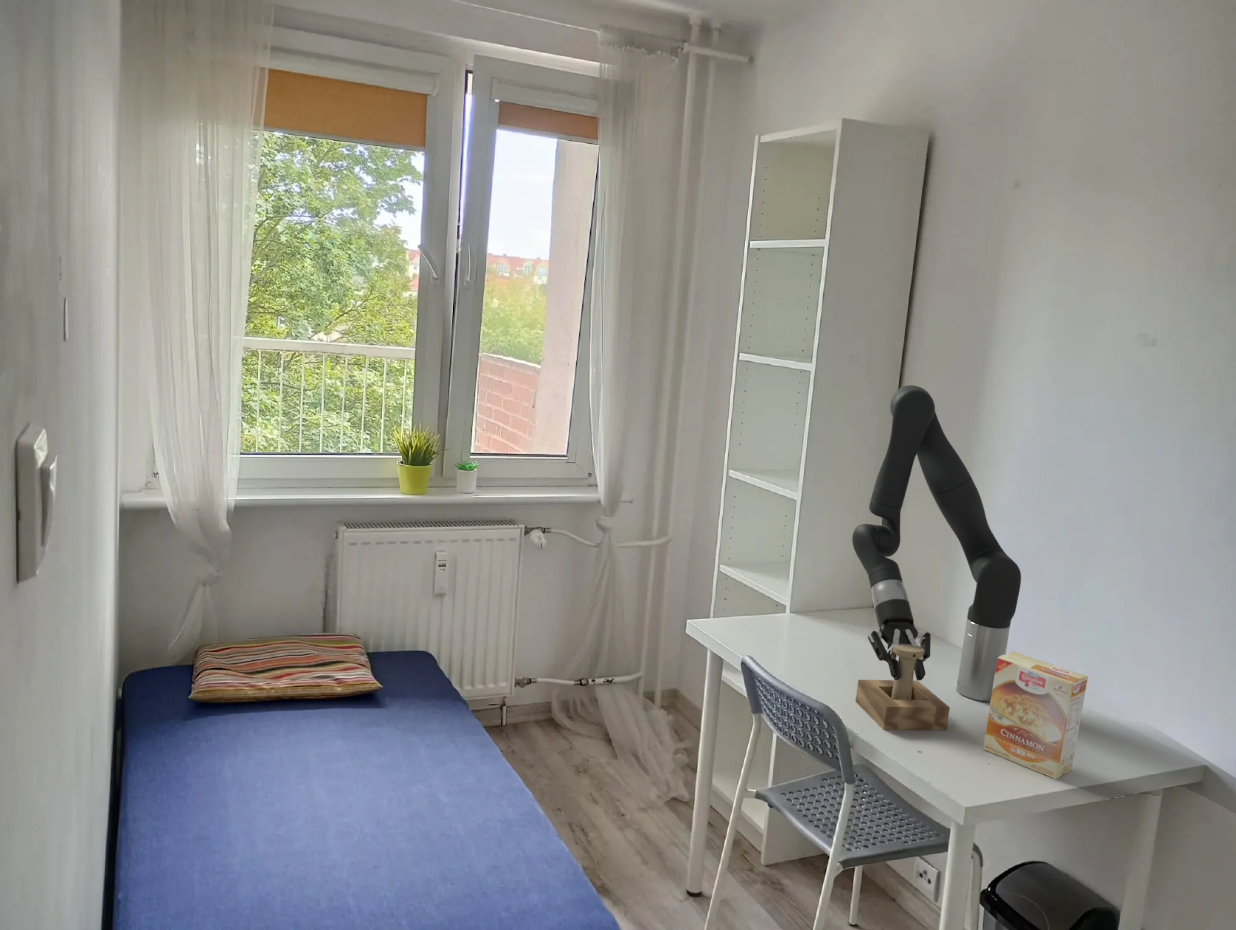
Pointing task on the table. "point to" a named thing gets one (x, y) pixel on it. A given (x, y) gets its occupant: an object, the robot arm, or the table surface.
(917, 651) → the handle
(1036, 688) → the coffeecake box
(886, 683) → the socket block
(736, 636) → the table surface
